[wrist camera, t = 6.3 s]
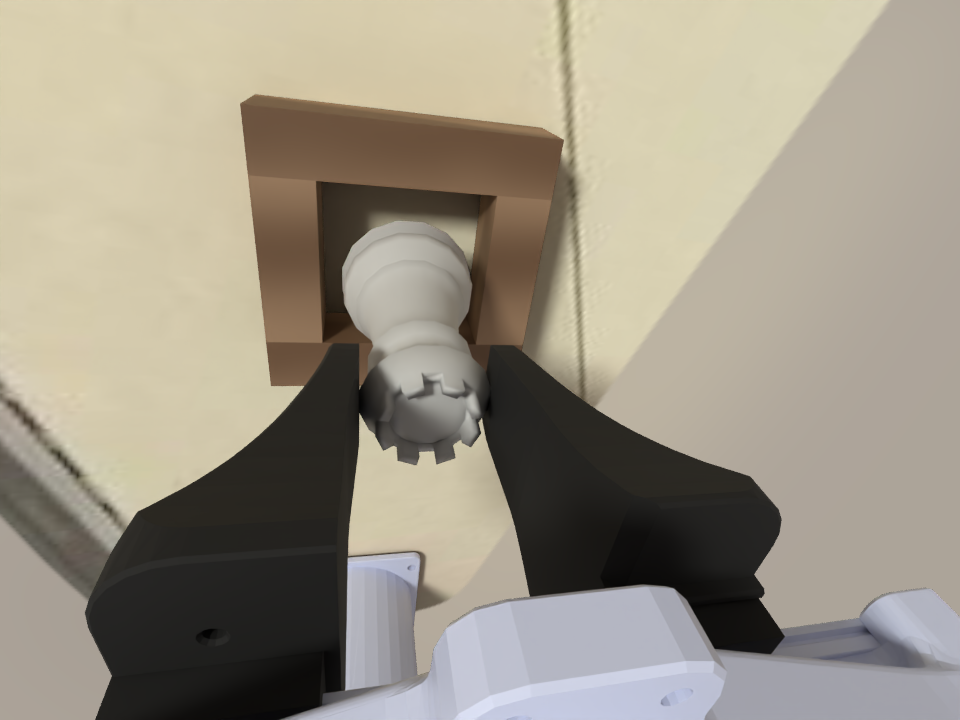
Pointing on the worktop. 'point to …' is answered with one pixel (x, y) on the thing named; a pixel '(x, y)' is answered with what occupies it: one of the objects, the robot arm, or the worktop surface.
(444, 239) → the rook chess piece
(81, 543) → the worktop surface
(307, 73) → the worktop surface
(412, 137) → the walnut docking collar
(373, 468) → the worktop surface
